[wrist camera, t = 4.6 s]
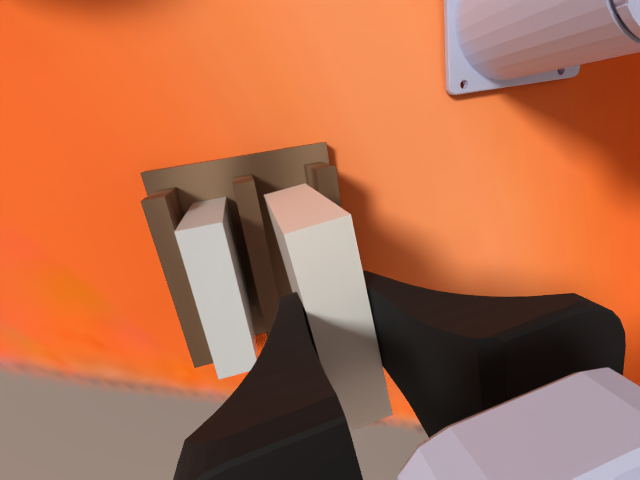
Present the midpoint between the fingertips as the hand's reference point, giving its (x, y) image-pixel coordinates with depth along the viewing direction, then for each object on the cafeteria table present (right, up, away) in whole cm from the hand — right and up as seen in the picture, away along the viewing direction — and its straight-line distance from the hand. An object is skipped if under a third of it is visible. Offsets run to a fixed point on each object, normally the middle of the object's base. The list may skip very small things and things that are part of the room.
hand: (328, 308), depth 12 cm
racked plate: (-6, +1, +8) cm, 10 cm away
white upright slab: (-1, +1, +4) cm, 4 cm away
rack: (-4, +2, +9) cm, 10 cm away
